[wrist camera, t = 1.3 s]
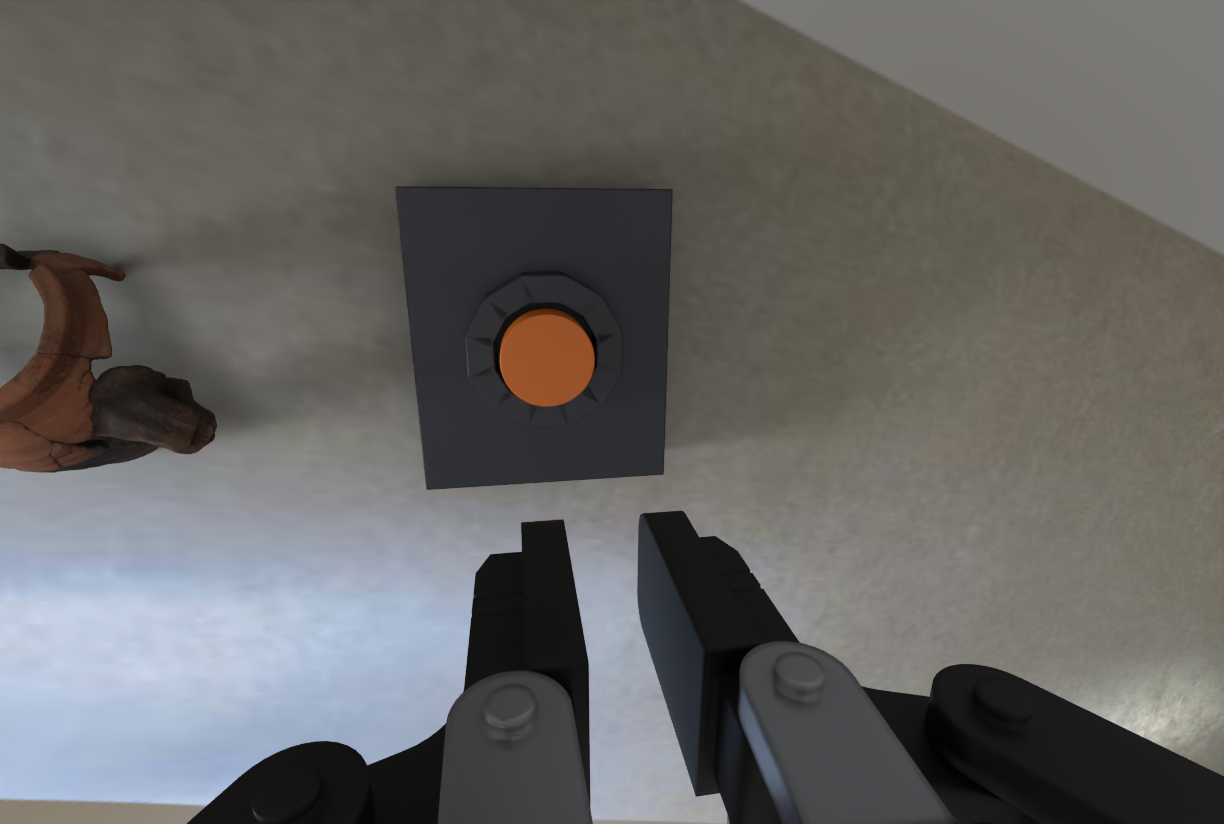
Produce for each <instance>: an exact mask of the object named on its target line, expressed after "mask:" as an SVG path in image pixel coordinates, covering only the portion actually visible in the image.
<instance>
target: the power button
mask: <svg viewBox="0 0 1224 824" xmlns="http://www.w3.org/2000/svg"><path fill="white" fill-rule="evenodd" d="M594 366H595V355H594V349H593V346H592V343H591V341H590V339H589V337H588V335H587V334H586V332H585V331H584V329H583V328H582V326H581V325H580V324H579V323H578V322H577V321H576V320H575V319H574V318H573V317H571V316H570V315H568V314H566V313H564V312H562V311H559V310H556V309H549V308H542V309H535V310H531V311H529V312H526V313H524V314H522V315H521V316H519V317H518V318H517V319H515V320H514V321H513V322H512V323H511V325H510V326H509V327H508V329H507V330H506V332H505V334H504V336H503V339H502V343H501V349H500V369H501V373H502V376H503V378H504V381H505V382H506V384H507V386H508V387H509V388H510V390H511V391H512V392H513V393H514V394H515V395H516V396H518V397H519V398H520V399H522V400H524V401H526V402H528V403H530V404H533V405H537V406H557V405H561V404H564V403H567V402H569V401H570V400H572V399H574V398H575V397H577V396H578V395H579V394H580V393H581V392H582V391H583V390H584V389H585V388H586V386H587V385H588V383H589V381H590V379H591V377H592V374H593V371H594Z"/></svg>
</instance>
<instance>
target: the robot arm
mask: <svg viewBox="0 0 1224 824" xmlns="http://www.w3.org/2000/svg"><path fill="white" fill-rule="evenodd" d="M521 532H522V552H514V553H502V554H490V556H489V557H488V558H487V560H486V561H485V562H484V563H483V565H482V566H481V567H480V569H479V570H478V571H477V572H476V576H475V586H474V599H473V606H472V617H471V626H470V636H469V646H468V656H467V666H466V676H465V686H464V692H463V693H462V694H461V695H460V696H459V698H458V699H457V700H456V701H455V703H454V704H453V706H452V707H451V710H450V712H449V714H448V717H447V722H446V724H445V725H444V726H443V727H442V728H441V729H439V730H438V731H437V732H436V733H434V734H433V735H432V736H430V737H429V738H428V739H426V740H424V741H423V742H421V743H419V744H418V745H416V746H414V747H411V748H409V749H407V750H405V751H402V752H400V753H397V754H395V755H392V756H390V757H387V758H385V759H382V760H380V761H377V762H375V763H372V764H370V765H367V764H366V762H365V761H364V759H363V757H362V756H361V755H360V754H359V753H358V752H357V751H356V750H354V749H353V748H351V747H349V746H347V745H344V744H341V743H338V742H329V741H319V742H310V743H304V744H300V745H297V746H293V747H290V748H287V749H285V750H282V751H280V752H277V753H275V754H273V755H271V756H270V757H268V758H266V759H264V760H262V761H261V762H259V763H258V764H256V765H255V766H253V767H252V768H250V769H249V770H248V771H246V772H245V773H244V774H243V775H241V776H240V777H239V778H238V779H237V780H236V781H234V782H233V783H232V784H231V785H230V786H229V787H228V788H227V789H225V790H224V791H223V792H222V793H221V794H220V795H219V796H217V797H216V798H215V799H214V800H213V801H212V802H211V803H209V804H208V805H207V806H206V807H205V808H204V809H203V810H202V811H200V812H199V813H198V814H197V815H196V816H195V817H194V818H192V819H191V820H190V821H189V822H188V823H187V824H593V822H592V816H591V811H590V743H589V663H588V657H587V652H586V646H585V640H584V634H583V628H582V623H581V617H580V611H579V605H578V600H577V594H576V588H575V582H574V577H573V571H572V565H571V559H570V554H569V548H568V542H567V536H566V531H565V525H564V520H563V519H562V520H549V521H535V522H522V523H521ZM637 593H638V608H639V615H640V621H641V625H642V629H643V632H644V635H645V638H646V642H647V645H648V648H649V651H650V654H651V657H652V660H653V663H654V667H655V670H656V673H657V676H658V679H659V682H660V685H661V688H662V692H663V695H664V698H665V701H666V704H667V707H668V710H669V714H670V717H671V720H672V723H673V726H674V729H675V732H676V735H677V739H678V742H679V745H680V748H681V751H682V754H683V757H684V760H685V764H686V767H687V770H688V773H689V776H690V779H691V782H692V785H693V789H694V792H695V795H696V796H703V795H710V794H716V793H720V794H721V797H722V800H723V802H724V805H725V808H726V811H727V813H728V815H727V824H1224V776H1222V775H1220V774H1218V773H1216V772H1213V771H1211V770H1209V769H1207V768H1205V767H1203V766H1201V765H1199V764H1197V763H1195V762H1193V761H1191V760H1189V759H1187V758H1185V757H1183V756H1180V755H1178V754H1176V753H1174V752H1172V751H1170V750H1168V749H1166V748H1164V747H1162V746H1160V745H1158V744H1156V743H1154V742H1152V741H1149V740H1147V739H1145V738H1143V737H1141V736H1139V735H1137V734H1135V733H1133V732H1131V731H1129V730H1127V729H1125V728H1123V727H1121V726H1119V725H1116V724H1114V723H1112V722H1110V721H1108V720H1106V719H1104V718H1102V717H1100V716H1098V715H1096V714H1094V713H1092V712H1090V711H1088V710H1086V709H1083V708H1081V707H1079V706H1077V705H1075V704H1073V703H1071V702H1069V701H1067V700H1065V699H1063V698H1061V697H1059V696H1057V695H1055V694H1053V693H1050V692H1048V691H1046V690H1044V689H1042V688H1040V687H1038V686H1036V685H1034V684H1032V683H1030V682H1028V681H1026V680H1024V679H1022V678H1019V677H1017V676H1015V675H1012V674H1010V673H1007V672H1005V671H1002V670H999V669H995V668H991V667H987V666H982V665H975V664H959V665H953V666H949V667H946V668H944V669H942V670H941V671H940V672H938V673H937V674H936V676H935V677H934V679H933V683H932V688H931V693H930V697H927V696H920V695H913V694H905V693H898V692H890V691H883V690H877V689H871V688H866V687H863V686H861V685H860V684H859V682H858V681H857V679H856V678H855V677H854V675H853V674H852V673H851V672H850V670H849V669H848V668H847V667H846V666H845V665H844V664H843V663H842V662H840V661H839V660H838V659H836V658H835V657H833V656H832V655H830V654H828V653H826V652H825V651H823V650H820V649H818V648H816V647H813V646H810V645H806V644H802V643H800V642H799V641H798V639H797V638H796V637H795V635H794V634H793V632H792V631H791V629H790V628H789V626H788V625H787V623H786V622H785V620H784V619H783V617H782V616H781V614H780V613H779V612H778V610H777V609H776V607H775V606H774V604H773V603H772V601H771V600H770V598H769V597H768V595H767V594H766V592H765V591H764V589H761V587H760V584H759V582H758V581H757V579H756V578H755V576H754V575H753V573H750V569H749V567H748V566H747V564H746V563H745V562H744V560H743V559H742V557H741V556H740V554H739V553H738V551H737V550H735V549H734V548H732V547H731V546H729V545H728V544H726V543H725V542H723V541H722V540H720V539H719V538H717V537H716V536H710V537H699V536H698V534H697V533H696V531H695V529H694V528H693V526H692V524H691V523H690V521H689V519H688V517H687V516H686V514H685V513H684V512H683V511H670V512H657V513H643V514H641V515H640V519H639V532H638V588H637Z"/></svg>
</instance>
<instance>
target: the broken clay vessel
mask: <svg viewBox="0 0 1224 824" xmlns="http://www.w3.org/2000/svg"><path fill="white" fill-rule="evenodd" d="M0 269H15V270H28V269H32V271H31V272H30V273H29V278H30V279H31V280H32V282H33V283H34V285H35V287H36V288H37V290H38V292H39V294H40V296H41V298H42V300H43V303H44V312H45V314H44V327H43V332H42V335H41V339H40V343H39V346H38V349H37V353H36V354H35V355H34V356H33V357H32V358H31V360H30V361H29V362H28V364H27V365H26V366H25V367H24V369H23V370H22V371H20V372H19V373H18V374H17V375H16V376H15V377H14V378H13V379H12V380H10V381H9V382H8V383H6V384H5V385H3V386H2V387H1V388H0V467H1V468H8V469H17V470H20V471H28V472H58V471H68V470H81V469H87V468H90V467H99V466H102V465H106V464H113V463H122V462H127V461H130V460H134V459H137V458H140V457H142V456H145V455H147V454H149V453H151V452H153V451H154V450H156V449H157V448H159V447H163V448H166V449H169V450H172V451H173V452H176V453H181V454H192V453H196V452H198V451H199V450H200V449H202V448H203V447H204V446H206V445H207V444H209V443H210V442H212V441H213V440H214V438H215V430H216V428H217V422H216V419H215V415H214V414H213V413H212V412H210V411H209V410H207V409H206V408H204V407H202V406H201V405H200V404H198V403H197V402H196V401H195V400H194V399H193V396H192V390H191V387H190V384H189V382H188V381H187V380H183V379H176V378H168V377H166V375H165V374H163V373H161V372H157V371H153V370H152V369H151V368H149V367H146V366H142V365H134V366H118V367H114V368H110V369H108V370H107V371H105V372H103V373H102V374H101V375H100V377H99V378H98V379H97V380H95V378H94V377H93V374H92V372H91V361H92V360H94V359H97V360H98V359H107V358H110V357H111V356H112V347H111V343H110V335H109V331H108V320H107V316H106V314H105V311H104V309H103V307H102V304H101V301H100V296H99V293H98V290H97V288H96V286H95V284H94V283H93V281H92V280H91V279H90V277H89V275H97V276H102V277H106V278H109V279H111V280H115V281H122V280H124V278H125V277H126V275H125V274H124V273H123V272H121V271H119V270H117V269H115V268H112V267H110V266H107V265H105V264H103V263H100V262H98V261H95V260H92V259H88V258H84V257H81V256H78V255H75V254H70V253H60V252H59V251H54V250H42V251H17V252H16V251H15V250H13V249H12V248H10V247H8V246H6V245H4V244H0ZM94 436H101V437H108V439H107V440H104V441H103V440H90V439H91V438H92V437H94Z"/></svg>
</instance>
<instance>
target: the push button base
mask: <svg viewBox="0 0 1224 824" xmlns="http://www.w3.org/2000/svg"><path fill="white" fill-rule="evenodd" d="M395 190H396V199H397V209H398V219H399V228H400V238H401V248H402V257H403V267H404V277H405V286H406V296H407V306H408V315H409V325H410V335H411V344H412V354H413V364H414V374H415V383H416V393H417V403H418V412H419V422H420V432H421V441H422V451H423V461H424V470H425V480H426V489H427V490H431V489H447V488H462V487H478V486H493V485H509V484H524V483H540V482H555V481H571V480H586V479H602V478H617V477H632V476H648V475H663V474H664V444H665V413H666V381H667V349H668V317H669V285H670V253H671V222H672V190H671V189H588V188H488V187H396V188H395ZM542 308H549V309H556V310H559V311H562V312H564V313H566V314H568V315H570V316H571V317H573V318H574V319H575V320H576V321H577V322H578V323H579V324H580V325H581V326H582V328H583V329H584V331H585V332H586V334H587V335H588V337H589V339H590V341H591V343H592V346H593V349H594V355H595V366H594V371H593V374H592V377H591V379H590V381H589V383H588V385H587V386H586V388H585V389H584V390H583V391H582V392H581V393H580V394H579V395H578V396H577V397H575V398H574V399H572V400H570V401H569V402H567V403H564V404H561V405H557V406H537V405H533V404H530V403H528V402H526V401H524V400H522V399H520V398H519V397H518V396H516V395H515V394H514V393H513V392H512V391H511V390H510V388H509V387H508V386H507V384H506V382H505V381H504V378H503V376H502V373H501V369H500V349H501V343H502V339H503V336H504V334H505V332H506V330H507V329H508V327H509V326H510V325H511V323H512V322H513V321H514V320H515V319H517V318H518V317H519V316H521V315H522V314H524V313H526V312H529V311H531V310H535V309H542Z"/></svg>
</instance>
